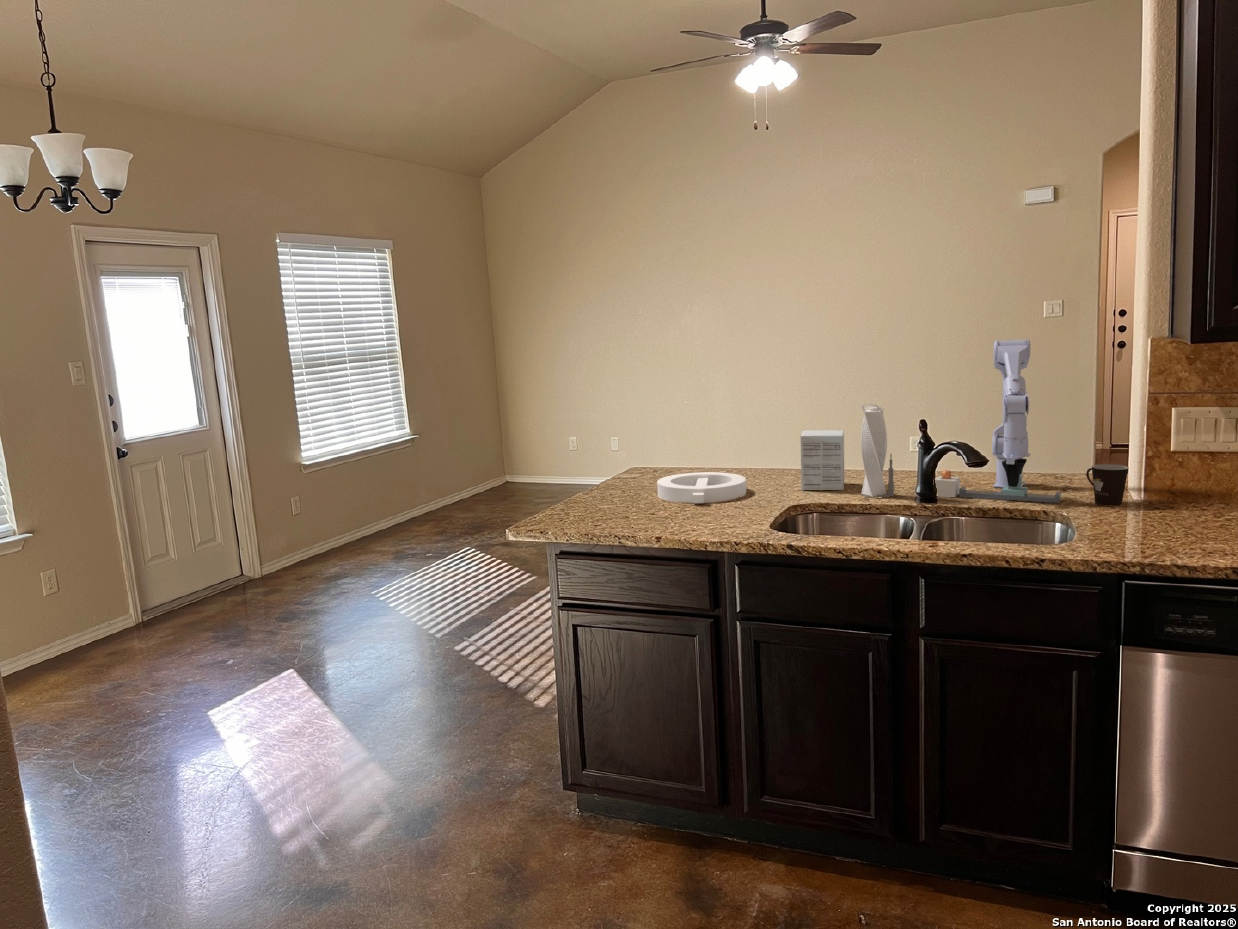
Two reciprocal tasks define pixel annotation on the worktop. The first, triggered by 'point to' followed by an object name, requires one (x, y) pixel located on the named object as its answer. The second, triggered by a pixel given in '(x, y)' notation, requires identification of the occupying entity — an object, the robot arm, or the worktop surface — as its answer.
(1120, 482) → the coffee mug
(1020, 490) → the carriage
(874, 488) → the skyscraper
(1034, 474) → the worktop surface
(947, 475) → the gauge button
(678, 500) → the ring with crossbar
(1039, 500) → the rail
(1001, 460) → the robot arm
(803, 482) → the supplement box
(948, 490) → the white button housing
